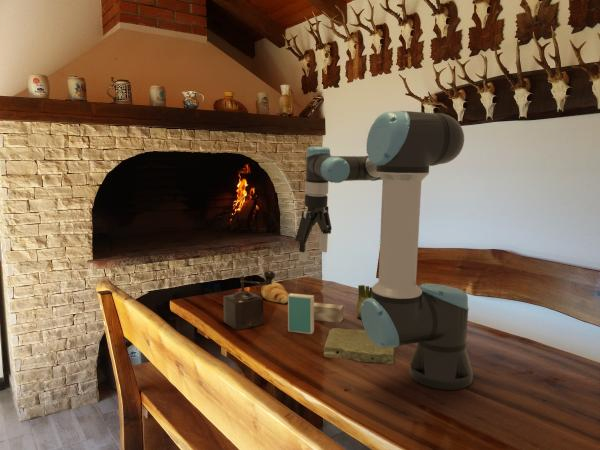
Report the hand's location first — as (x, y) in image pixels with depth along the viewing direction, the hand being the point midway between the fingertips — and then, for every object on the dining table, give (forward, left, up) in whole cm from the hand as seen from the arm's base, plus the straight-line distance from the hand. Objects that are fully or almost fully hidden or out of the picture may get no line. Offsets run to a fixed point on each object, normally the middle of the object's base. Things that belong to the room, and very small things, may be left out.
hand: (313, 256), depth 154 cm
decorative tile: (-19, -20, -24) cm, 36 cm away
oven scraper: (+3, -1, -23) cm, 23 cm away
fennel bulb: (+8, -16, -23) cm, 29 cm away
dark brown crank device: (-8, +20, -23) cm, 32 cm away
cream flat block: (-11, +1, -23) cm, 25 cm away
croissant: (+21, +24, -23) cm, 40 cm away
